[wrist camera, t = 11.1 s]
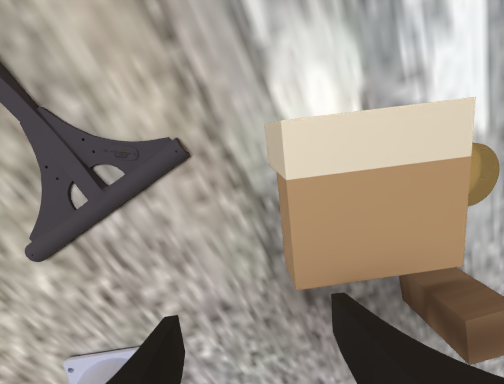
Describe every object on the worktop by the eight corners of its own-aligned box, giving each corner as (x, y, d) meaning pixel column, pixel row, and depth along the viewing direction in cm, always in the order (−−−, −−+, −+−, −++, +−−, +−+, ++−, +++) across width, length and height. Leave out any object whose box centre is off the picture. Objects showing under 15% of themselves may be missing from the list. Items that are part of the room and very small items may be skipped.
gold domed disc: (479, 195, 23) (498, 200, 21) (423, 207, 22) (438, 212, 21) (480, 136, 21) (500, 137, 20) (421, 148, 21) (436, 150, 20)
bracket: (52, -33, 17) (18, -63, 15) (191, 154, 21) (185, 158, 18) (-104, 98, 18) (-162, 92, 16) (51, 255, 22) (25, 272, 19)
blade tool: (439, 288, 24) (520, 350, 17) (402, 299, 24) (469, 364, 17) (424, 151, 21) (514, 160, 14) (382, 162, 21) (453, 177, 14)
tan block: (393, 225, 22) (463, 265, 16) (276, 241, 22) (296, 290, 15) (394, 108, 20) (475, 96, 13) (264, 124, 20) (280, 120, 13)
